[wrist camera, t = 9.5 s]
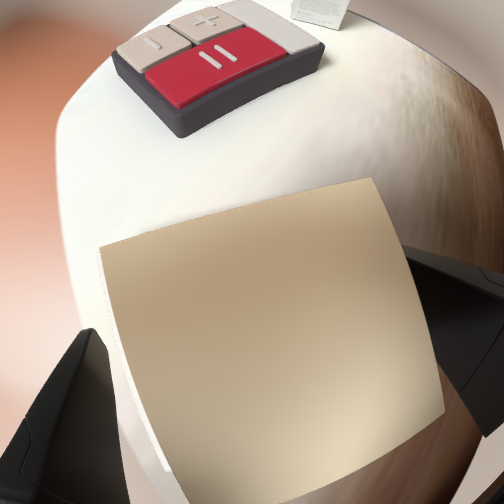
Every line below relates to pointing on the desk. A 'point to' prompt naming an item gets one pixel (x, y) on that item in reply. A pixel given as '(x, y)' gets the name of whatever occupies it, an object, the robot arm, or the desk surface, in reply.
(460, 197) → the desk surface
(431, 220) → the desk surface
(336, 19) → the skincare box
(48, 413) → the robot arm
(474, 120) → the desk surface
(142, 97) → the calculator
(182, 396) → the birch block
